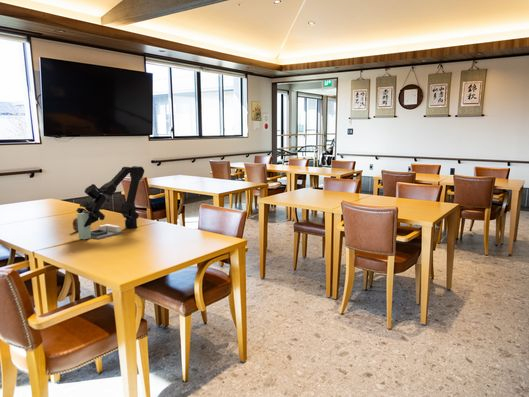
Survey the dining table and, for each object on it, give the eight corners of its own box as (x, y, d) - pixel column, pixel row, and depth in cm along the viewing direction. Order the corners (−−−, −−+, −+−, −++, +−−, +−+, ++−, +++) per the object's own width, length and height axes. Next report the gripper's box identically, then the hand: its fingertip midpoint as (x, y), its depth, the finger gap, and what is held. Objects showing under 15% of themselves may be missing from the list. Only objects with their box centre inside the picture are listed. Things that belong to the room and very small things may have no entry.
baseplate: (108, 229, 247) (108, 223, 246) (124, 232, 240) (123, 226, 239) (82, 235, 232) (82, 229, 231) (98, 239, 225) (97, 232, 224)
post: (86, 236, 228) (84, 212, 226) (91, 237, 226) (89, 213, 224) (78, 238, 224) (77, 213, 222) (83, 239, 222) (82, 214, 220)
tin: (76, 232, 239) (75, 219, 237) (72, 232, 239) (71, 218, 238) (92, 227, 253) (91, 214, 252) (87, 226, 254) (87, 213, 252)
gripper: (78, 193, 229) (61, 216, 222) (99, 196, 220) (82, 220, 212) (91, 205, 237) (75, 227, 230) (111, 208, 228) (96, 231, 220)
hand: (81, 226), depth 223 cm, fingers closed on post, 4 cm apart
